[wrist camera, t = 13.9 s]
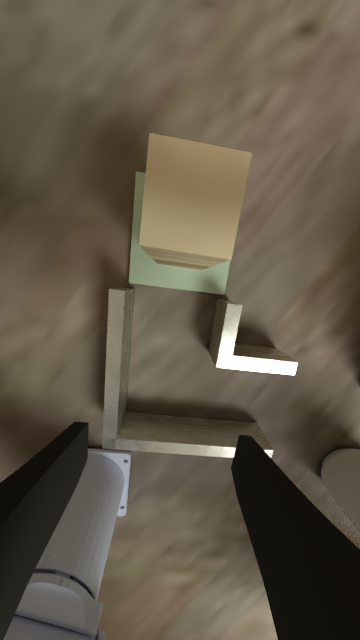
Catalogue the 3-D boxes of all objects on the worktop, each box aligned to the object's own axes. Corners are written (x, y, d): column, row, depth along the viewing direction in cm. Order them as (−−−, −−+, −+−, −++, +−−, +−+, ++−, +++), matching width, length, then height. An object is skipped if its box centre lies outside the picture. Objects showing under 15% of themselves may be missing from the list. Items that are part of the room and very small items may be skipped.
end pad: (223, 294, 18) (224, 294, 17) (129, 282, 17) (128, 282, 17) (241, 190, 16) (242, 188, 15) (136, 174, 15) (135, 171, 15)
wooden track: (255, 431, 21) (270, 460, 18) (114, 420, 20) (102, 448, 17) (285, 307, 18) (311, 313, 15) (121, 287, 17) (108, 288, 14)
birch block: (200, 270, 17) (231, 259, 8) (157, 264, 16) (139, 245, 8) (208, 223, 16) (252, 152, 7) (163, 216, 16) (149, 132, 7)
